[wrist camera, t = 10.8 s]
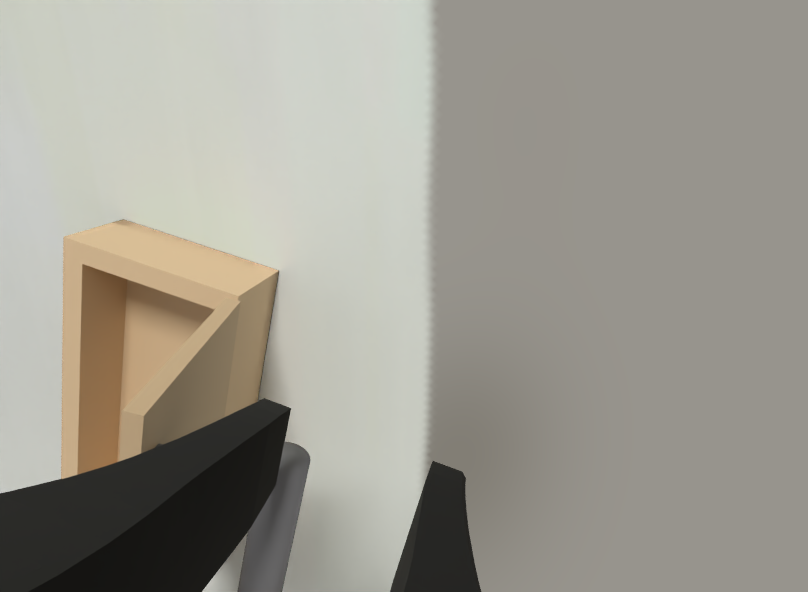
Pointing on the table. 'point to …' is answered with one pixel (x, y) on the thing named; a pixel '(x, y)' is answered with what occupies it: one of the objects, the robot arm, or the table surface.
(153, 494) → the robot arm
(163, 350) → the carton
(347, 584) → the table surface
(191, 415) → the lid
